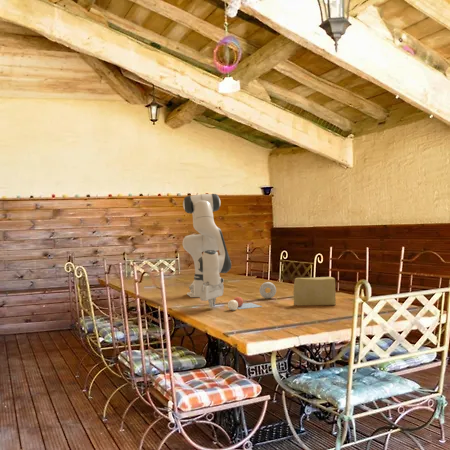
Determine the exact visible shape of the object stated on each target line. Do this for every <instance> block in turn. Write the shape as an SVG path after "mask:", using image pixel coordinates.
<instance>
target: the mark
mask: <svg viewBox="0 0 450 450" xmlns="http://www.w3.org/2000/svg"><path fill="white" fill-rule="evenodd" d="M262 307H263V305H259V304H255V303H252V302H248V303H245V302H243V305H242V306H240V307H238V308H237V309H236V310H246V309H252V308H253V309H254V308H262Z"/></svg>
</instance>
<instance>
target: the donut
mask: <svg viewBox="0 0 450 450" xmlns="http://www.w3.org/2000/svg"><path fill="white" fill-rule="evenodd" d="M268 288H269V289H270V292H266V289H268ZM276 293H277V287H276V286H275V284H274V283H273V282H270V281H267V282H263V283H262V284H261V285H260V287H259V294H260V295H261V297H263V298H264V299H272V298H273V297H274V296H275V295H276Z"/></svg>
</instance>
